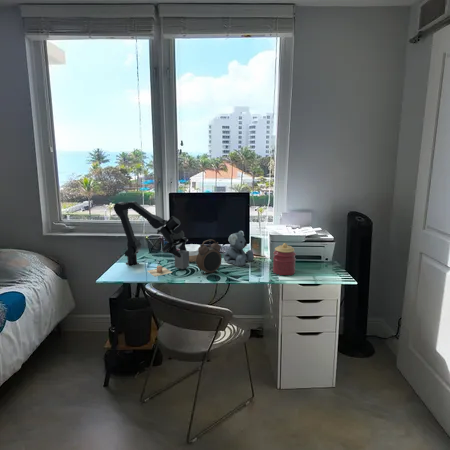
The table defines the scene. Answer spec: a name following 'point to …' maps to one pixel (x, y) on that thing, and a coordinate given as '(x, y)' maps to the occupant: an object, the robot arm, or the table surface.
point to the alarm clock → (209, 257)
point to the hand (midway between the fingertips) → (183, 255)
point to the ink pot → (159, 269)
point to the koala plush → (238, 250)
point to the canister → (284, 260)
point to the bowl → (192, 251)
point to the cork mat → (155, 273)
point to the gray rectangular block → (182, 259)
